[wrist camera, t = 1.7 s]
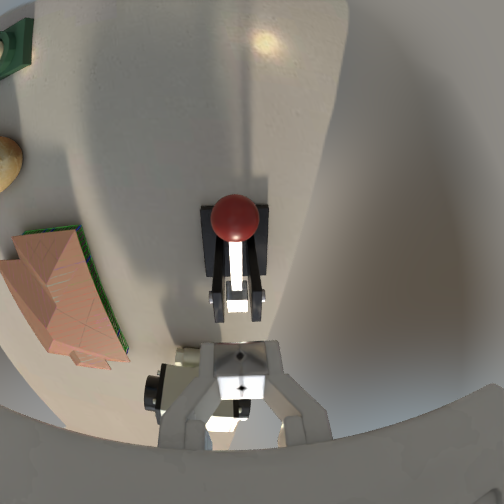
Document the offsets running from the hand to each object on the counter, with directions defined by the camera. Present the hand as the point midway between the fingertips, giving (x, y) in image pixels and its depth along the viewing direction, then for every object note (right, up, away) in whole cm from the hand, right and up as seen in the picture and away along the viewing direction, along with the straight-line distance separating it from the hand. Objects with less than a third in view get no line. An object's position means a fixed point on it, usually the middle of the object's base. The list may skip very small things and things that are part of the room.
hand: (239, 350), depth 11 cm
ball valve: (-10, -16, +43) cm, 47 cm away
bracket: (-2, +6, +30) cm, 30 cm away
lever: (-1, +4, +16) cm, 16 cm away
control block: (-36, +34, +9) cm, 50 cm away
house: (-36, -5, +34) cm, 50 cm away
